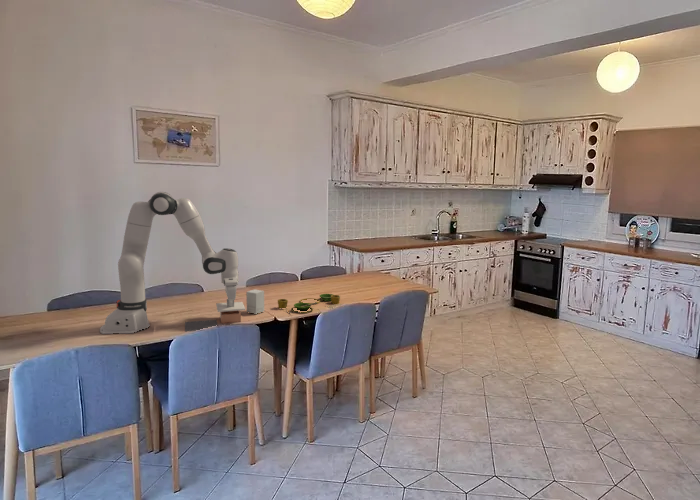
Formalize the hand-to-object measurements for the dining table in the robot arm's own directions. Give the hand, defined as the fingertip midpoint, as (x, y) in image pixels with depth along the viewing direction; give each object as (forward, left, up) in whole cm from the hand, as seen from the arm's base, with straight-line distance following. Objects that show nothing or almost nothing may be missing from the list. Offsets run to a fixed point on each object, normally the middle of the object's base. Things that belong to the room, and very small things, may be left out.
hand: (230, 304), depth 247 cm
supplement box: (+15, +12, -9) cm, 21 cm away
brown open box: (0, 0, -9) cm, 9 cm away
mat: (-15, -6, -9) cm, 19 cm away
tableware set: (+49, +19, -10) cm, 54 cm away
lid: (0, 0, -2) cm, 2 cm away
